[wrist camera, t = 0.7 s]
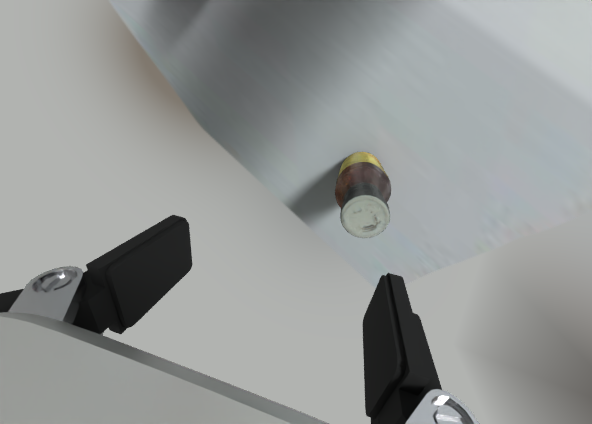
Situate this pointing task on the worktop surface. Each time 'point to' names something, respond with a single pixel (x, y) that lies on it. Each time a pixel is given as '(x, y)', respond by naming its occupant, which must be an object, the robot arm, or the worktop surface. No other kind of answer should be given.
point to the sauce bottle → (363, 195)
